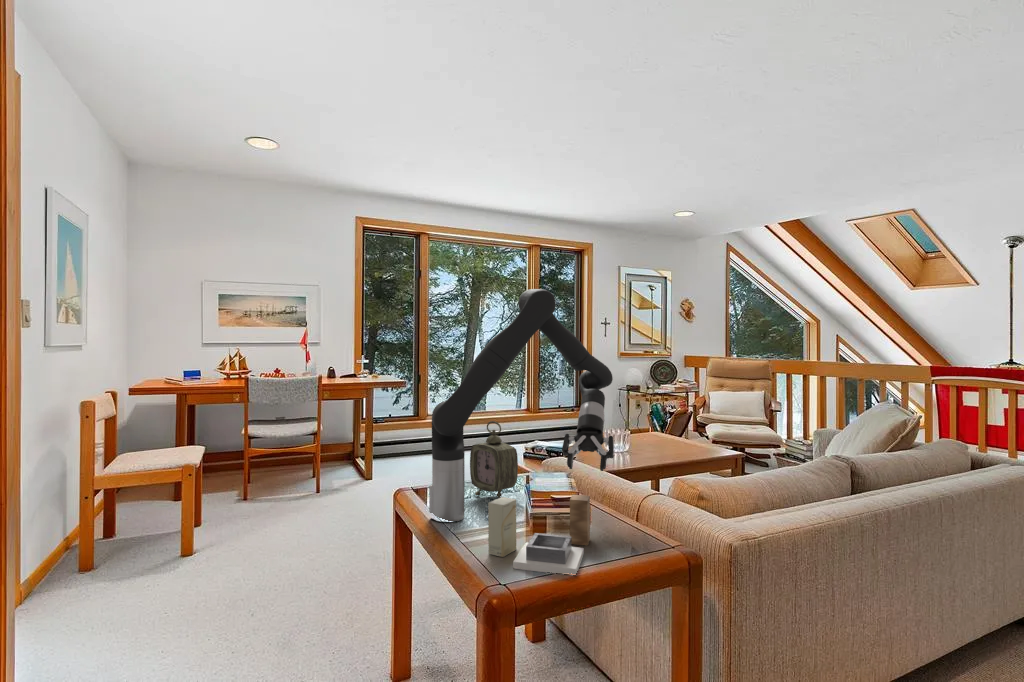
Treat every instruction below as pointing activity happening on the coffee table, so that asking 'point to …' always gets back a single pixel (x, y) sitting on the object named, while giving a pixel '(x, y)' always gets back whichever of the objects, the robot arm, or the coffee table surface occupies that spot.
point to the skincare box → (502, 526)
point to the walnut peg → (580, 519)
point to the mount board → (549, 554)
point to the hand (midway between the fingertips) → (585, 468)
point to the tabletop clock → (493, 464)
